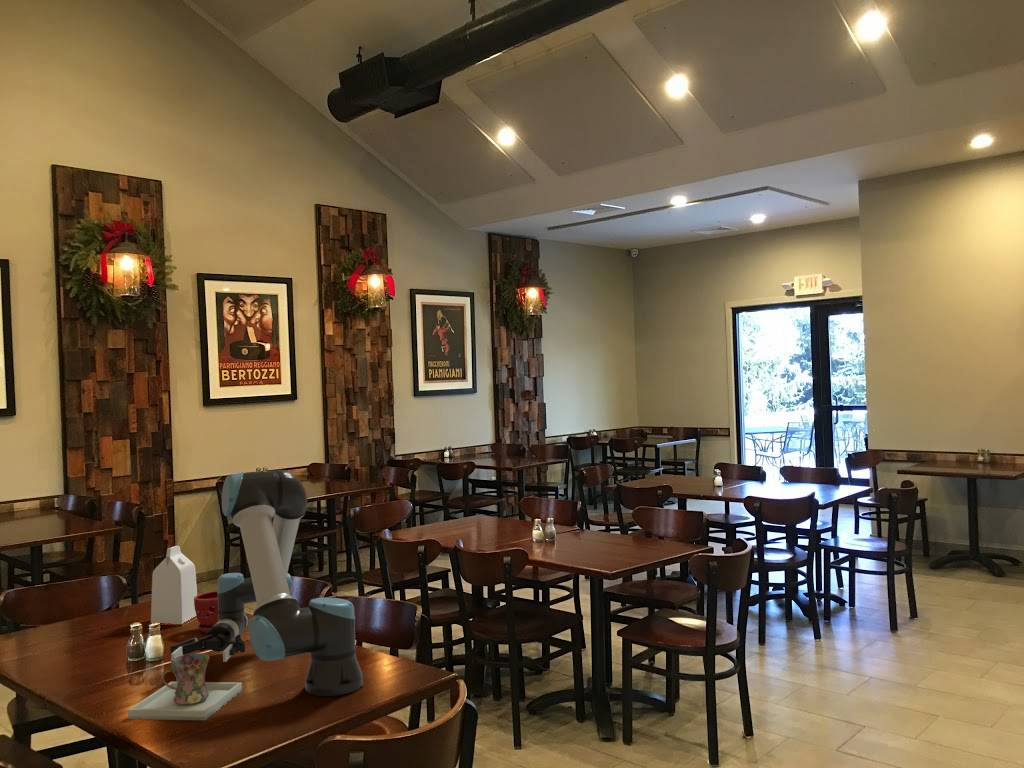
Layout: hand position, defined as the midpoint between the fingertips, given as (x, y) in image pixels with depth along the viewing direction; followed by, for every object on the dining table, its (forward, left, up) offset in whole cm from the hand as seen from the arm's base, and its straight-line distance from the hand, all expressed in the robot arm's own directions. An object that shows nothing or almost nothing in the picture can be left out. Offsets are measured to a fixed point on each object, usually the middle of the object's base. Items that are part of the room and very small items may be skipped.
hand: (198, 657), depth 224 cm
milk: (+44, -67, -9) cm, 81 cm away
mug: (-2, +10, -8) cm, 13 cm away
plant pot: (+24, -57, -9) cm, 63 cm away
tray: (-2, +10, -9) cm, 13 cm away
